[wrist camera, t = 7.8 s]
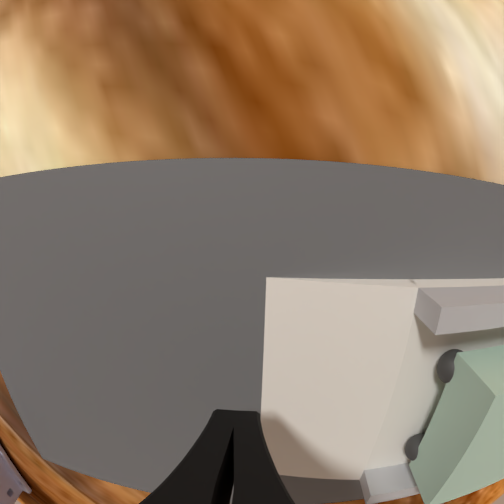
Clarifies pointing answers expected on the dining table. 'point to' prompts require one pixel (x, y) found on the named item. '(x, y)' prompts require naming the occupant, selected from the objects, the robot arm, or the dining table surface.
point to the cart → (462, 428)
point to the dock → (243, 312)
